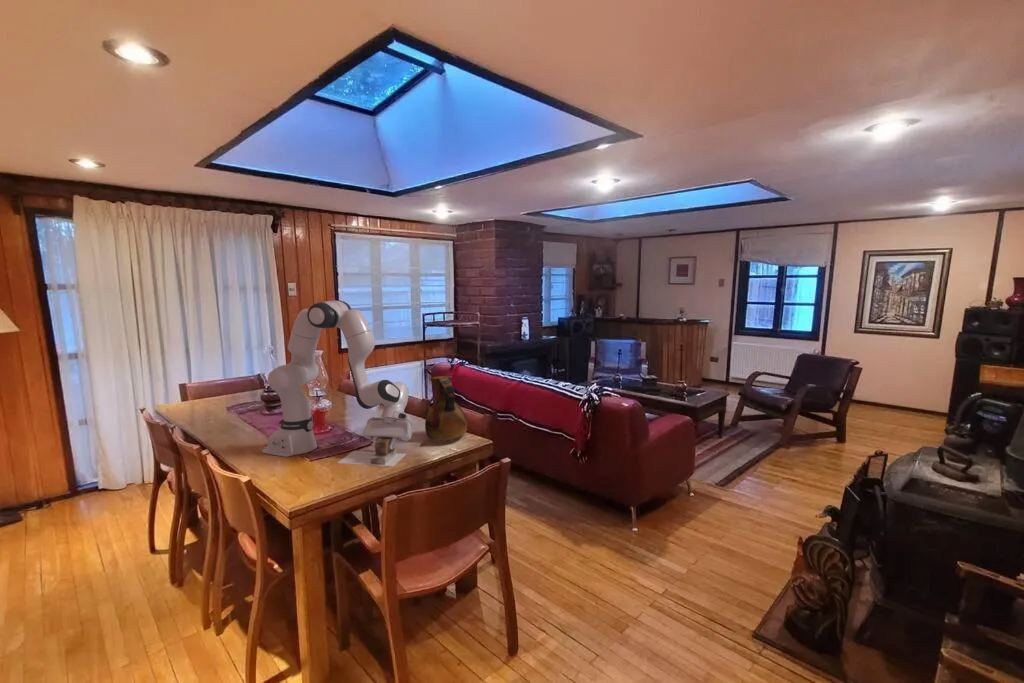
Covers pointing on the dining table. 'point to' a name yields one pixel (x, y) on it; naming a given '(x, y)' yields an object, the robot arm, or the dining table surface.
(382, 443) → the sanding block
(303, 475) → the dining table surface
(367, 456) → the board
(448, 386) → the ceramic pitcher
